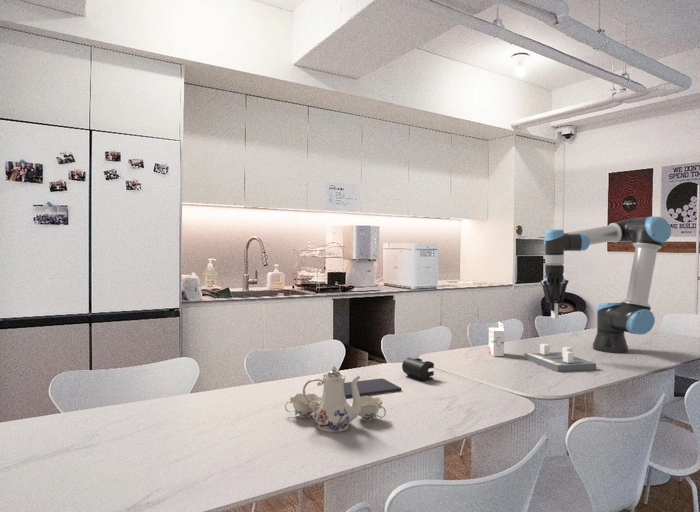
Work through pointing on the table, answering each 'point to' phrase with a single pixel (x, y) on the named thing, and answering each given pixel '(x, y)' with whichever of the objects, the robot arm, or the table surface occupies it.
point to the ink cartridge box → (496, 340)
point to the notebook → (371, 387)
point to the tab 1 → (544, 349)
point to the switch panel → (559, 362)
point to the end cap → (418, 368)
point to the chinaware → (335, 404)
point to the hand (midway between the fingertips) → (554, 317)
